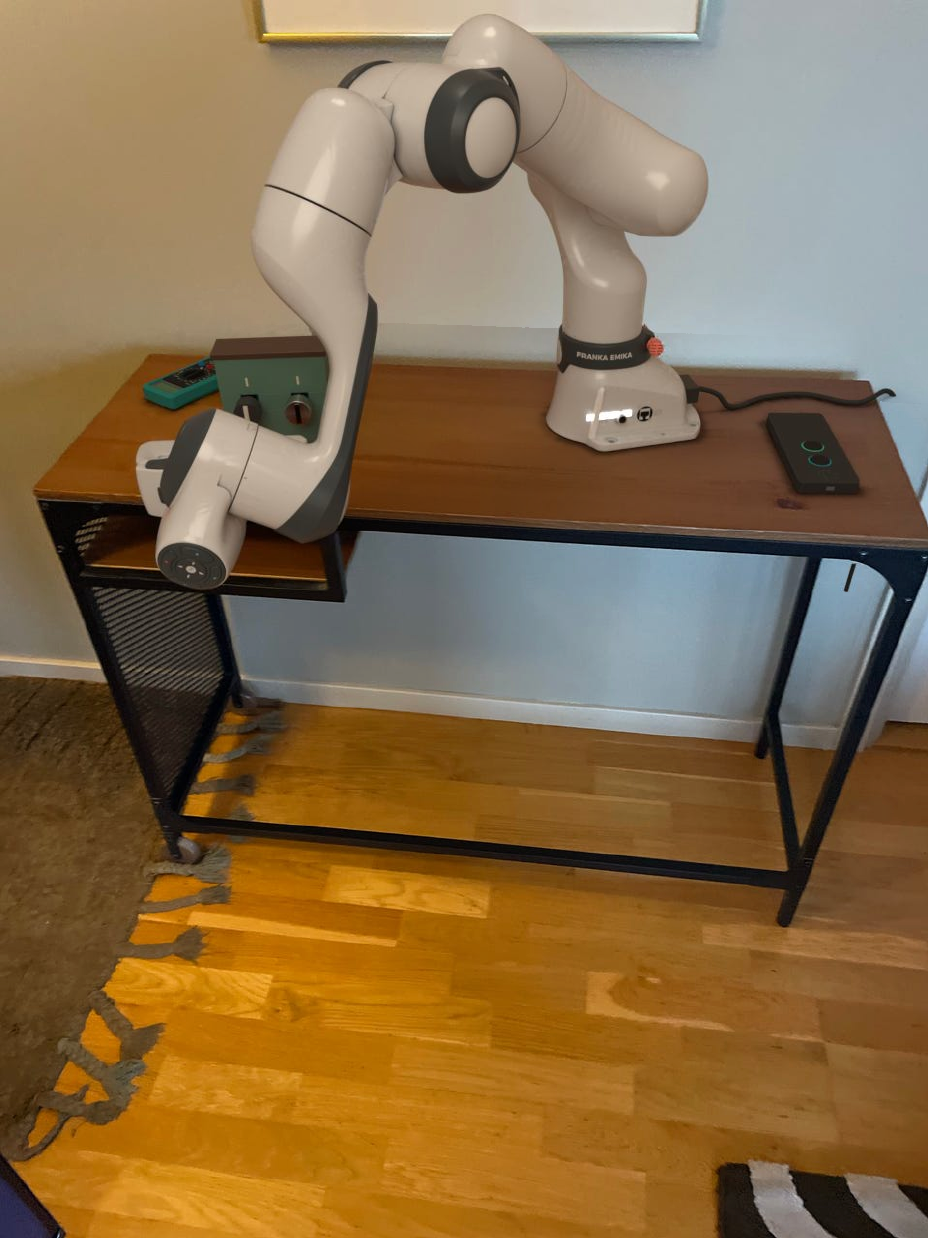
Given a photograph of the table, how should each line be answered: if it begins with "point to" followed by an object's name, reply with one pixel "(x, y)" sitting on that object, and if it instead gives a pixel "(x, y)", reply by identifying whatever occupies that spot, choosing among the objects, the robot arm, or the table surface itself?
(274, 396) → the console
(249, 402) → the black knob
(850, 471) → the smart home device
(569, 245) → the robot arm
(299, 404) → the steel knob
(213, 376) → the digital multimeter
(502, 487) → the table surface
